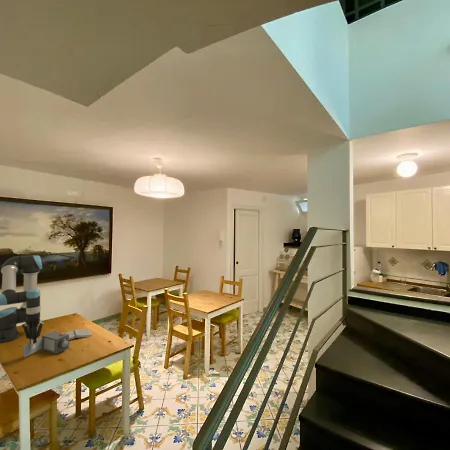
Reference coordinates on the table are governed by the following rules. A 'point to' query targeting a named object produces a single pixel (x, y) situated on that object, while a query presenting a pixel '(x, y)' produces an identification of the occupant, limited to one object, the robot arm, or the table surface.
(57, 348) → the cam body
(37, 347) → the door
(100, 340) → the table surface
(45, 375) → the table surface
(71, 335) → the gadget
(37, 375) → the table surface
